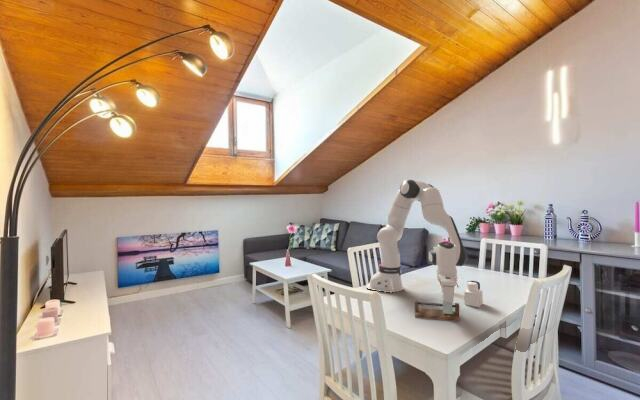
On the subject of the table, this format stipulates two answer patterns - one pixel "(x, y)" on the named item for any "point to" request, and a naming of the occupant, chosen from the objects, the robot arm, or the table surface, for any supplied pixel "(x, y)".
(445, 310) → the marker sleeve
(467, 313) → the table surface
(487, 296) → the table surface
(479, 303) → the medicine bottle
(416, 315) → the rail
